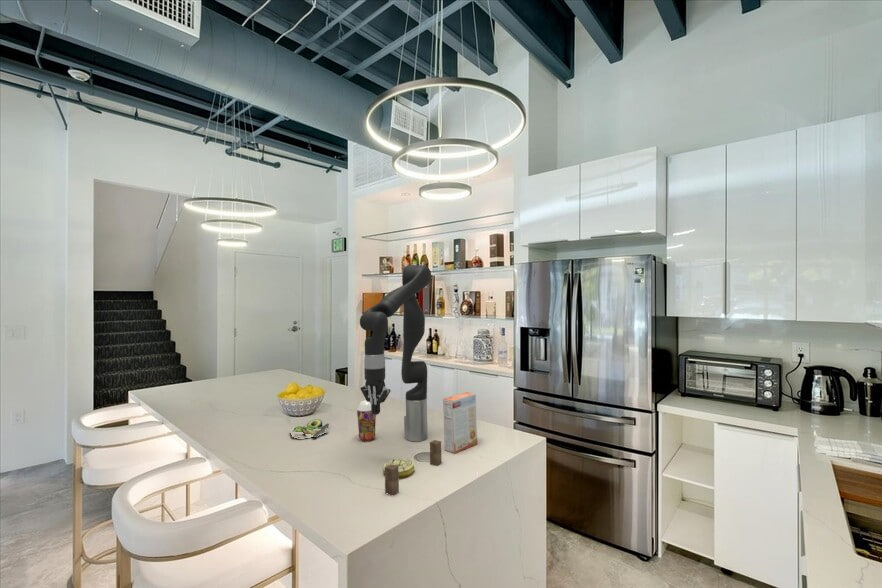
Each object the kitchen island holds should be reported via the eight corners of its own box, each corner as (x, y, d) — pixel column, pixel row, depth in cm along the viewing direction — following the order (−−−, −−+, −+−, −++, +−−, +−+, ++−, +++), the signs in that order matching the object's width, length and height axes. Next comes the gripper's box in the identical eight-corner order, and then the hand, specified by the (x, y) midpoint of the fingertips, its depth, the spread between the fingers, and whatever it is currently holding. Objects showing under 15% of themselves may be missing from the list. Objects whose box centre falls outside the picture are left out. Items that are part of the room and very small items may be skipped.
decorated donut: (391, 465, 146) (391, 455, 147) (418, 468, 143) (418, 458, 143) (378, 477, 137) (377, 466, 137) (407, 481, 133) (406, 470, 133)
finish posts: (385, 493, 125) (384, 467, 125) (434, 461, 149) (434, 439, 149) (392, 495, 123) (392, 469, 123) (441, 463, 147) (441, 441, 147)
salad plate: (333, 438, 178) (333, 427, 178) (291, 444, 171) (290, 433, 171) (328, 425, 195) (328, 416, 195) (289, 431, 188) (289, 421, 188)
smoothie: (360, 444, 168) (359, 396, 168) (355, 438, 175) (354, 392, 176) (379, 440, 172) (378, 394, 172) (373, 435, 179) (372, 390, 179)
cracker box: (466, 441, 169) (465, 391, 169) (477, 444, 165) (476, 393, 165) (443, 450, 159) (442, 397, 160) (454, 454, 155) (453, 400, 155)
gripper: (395, 366, 145) (396, 413, 145) (368, 363, 153) (369, 409, 152) (381, 369, 139) (382, 419, 139) (354, 366, 146) (355, 414, 146)
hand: (375, 413), depth 146 cm, fingers closed
